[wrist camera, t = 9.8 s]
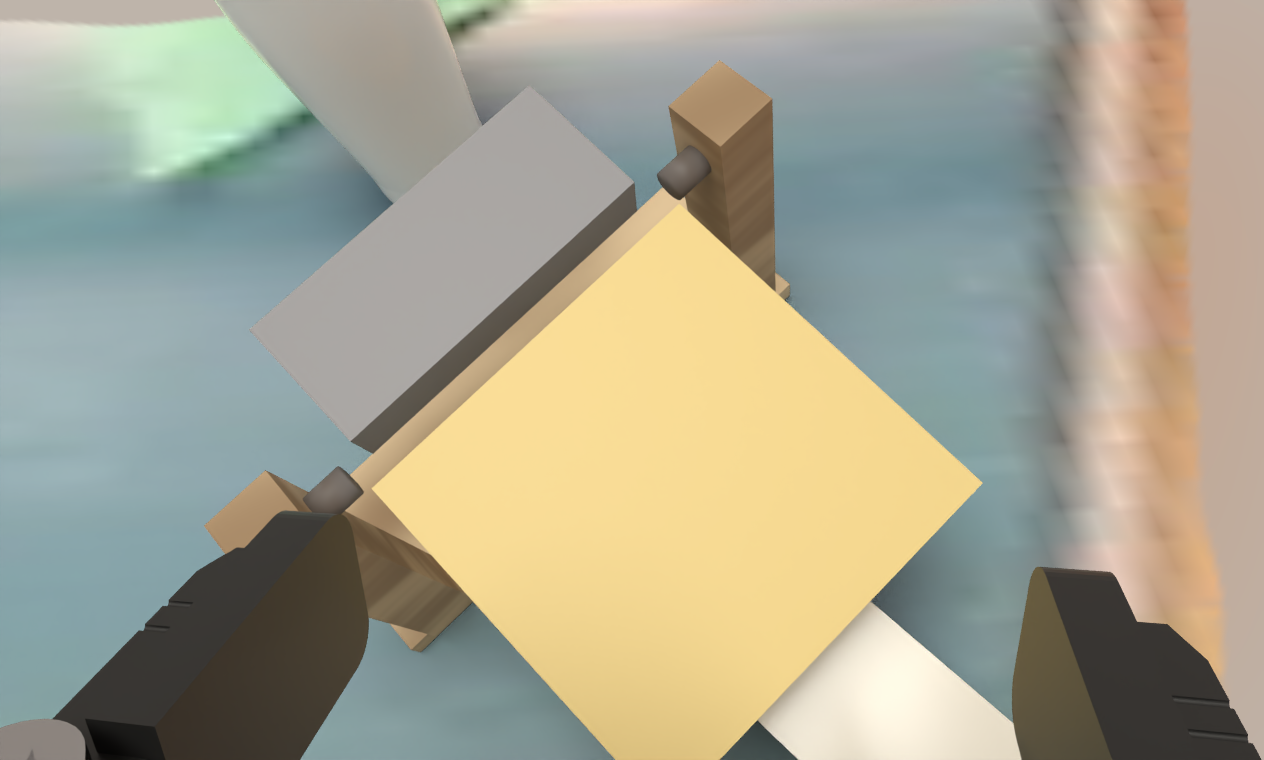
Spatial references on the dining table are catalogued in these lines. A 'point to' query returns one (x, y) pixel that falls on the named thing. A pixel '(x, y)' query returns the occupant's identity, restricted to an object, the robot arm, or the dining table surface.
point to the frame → (714, 194)
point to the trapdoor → (616, 438)
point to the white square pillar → (885, 703)
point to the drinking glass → (368, 77)
